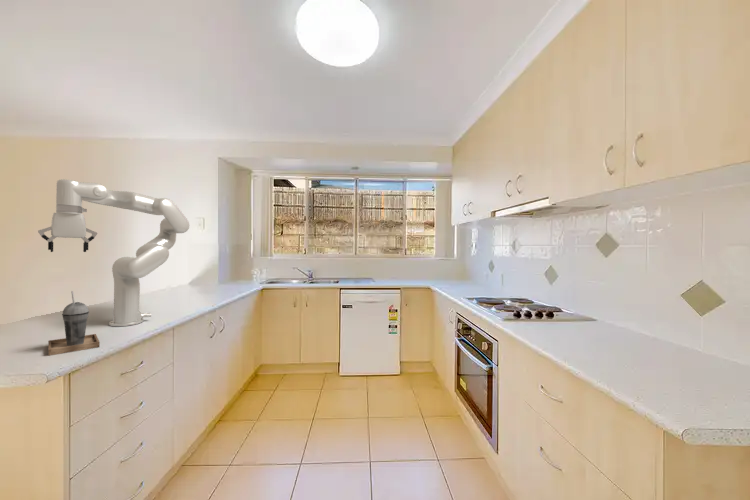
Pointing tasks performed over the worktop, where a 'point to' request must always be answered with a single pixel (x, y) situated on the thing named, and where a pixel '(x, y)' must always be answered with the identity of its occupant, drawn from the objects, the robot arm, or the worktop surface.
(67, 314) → the beverage cup
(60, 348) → the tray
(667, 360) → the worktop surface
